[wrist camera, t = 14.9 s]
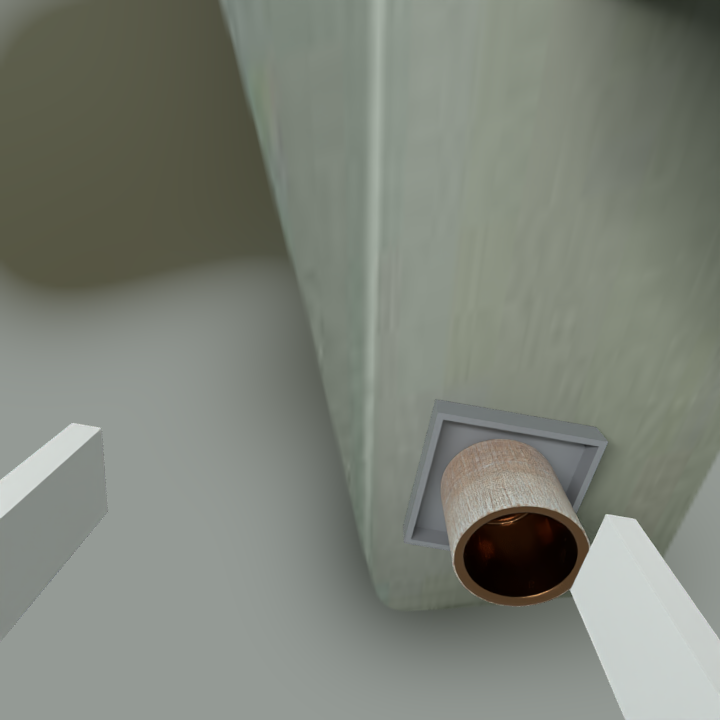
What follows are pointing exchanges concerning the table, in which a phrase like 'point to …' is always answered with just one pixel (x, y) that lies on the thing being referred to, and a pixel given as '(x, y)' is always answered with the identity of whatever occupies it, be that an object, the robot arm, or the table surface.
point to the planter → (510, 524)
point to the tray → (476, 424)
